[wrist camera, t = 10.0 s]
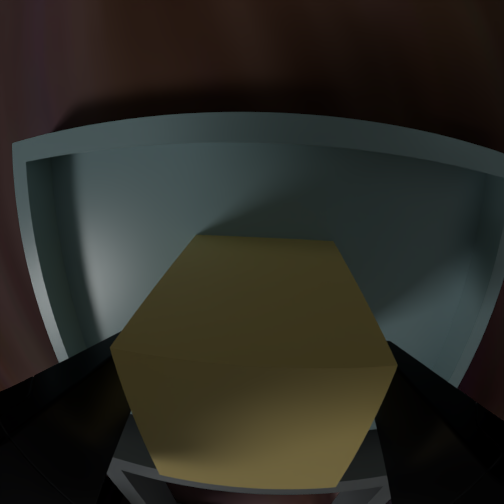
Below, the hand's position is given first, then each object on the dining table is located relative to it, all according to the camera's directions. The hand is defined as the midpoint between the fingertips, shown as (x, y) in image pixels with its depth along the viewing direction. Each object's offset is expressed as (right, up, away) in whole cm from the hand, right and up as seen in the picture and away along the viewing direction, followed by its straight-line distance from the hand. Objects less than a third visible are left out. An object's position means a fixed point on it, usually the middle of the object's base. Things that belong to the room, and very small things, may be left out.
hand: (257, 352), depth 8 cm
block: (0, +1, +3) cm, 3 cm away
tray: (0, +1, +3) cm, 4 cm away
